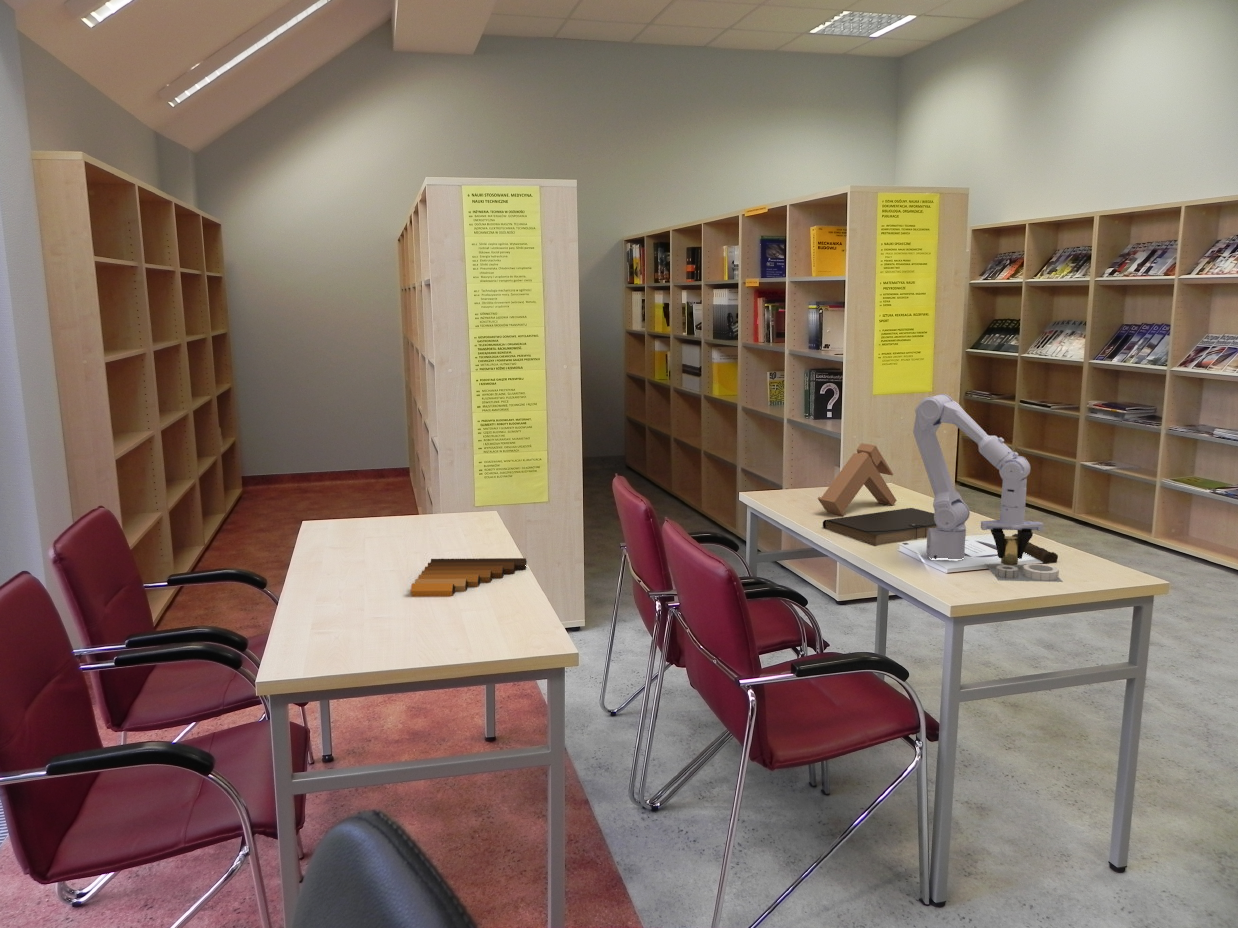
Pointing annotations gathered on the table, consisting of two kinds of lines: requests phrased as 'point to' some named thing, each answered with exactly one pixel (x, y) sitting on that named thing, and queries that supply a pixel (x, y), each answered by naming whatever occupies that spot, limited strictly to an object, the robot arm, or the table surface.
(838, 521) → the dark brown book
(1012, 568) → the fitting board
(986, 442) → the robot arm
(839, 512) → the wooden a-frame
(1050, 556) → the brown wooden stick
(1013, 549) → the round peg
